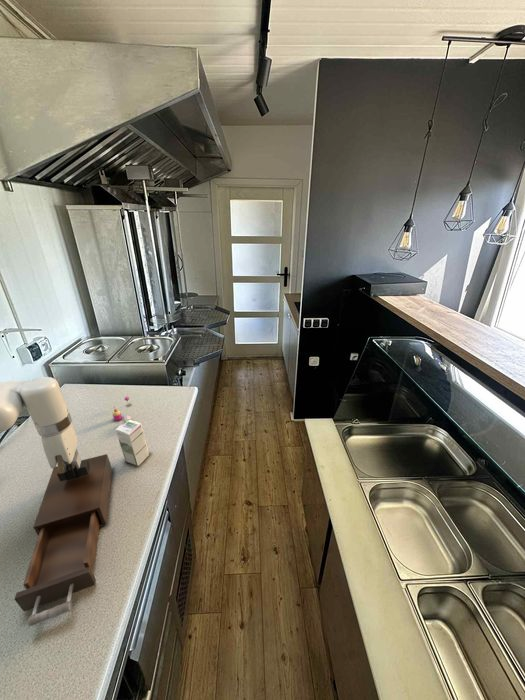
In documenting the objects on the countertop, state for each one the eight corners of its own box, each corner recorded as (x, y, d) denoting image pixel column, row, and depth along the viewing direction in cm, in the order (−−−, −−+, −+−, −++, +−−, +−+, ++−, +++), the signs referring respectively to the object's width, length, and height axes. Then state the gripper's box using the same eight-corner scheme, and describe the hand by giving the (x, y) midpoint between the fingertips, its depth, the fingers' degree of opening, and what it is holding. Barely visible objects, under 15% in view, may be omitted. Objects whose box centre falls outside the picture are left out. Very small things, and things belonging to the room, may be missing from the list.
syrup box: (150, 454, 100) (142, 422, 93) (137, 467, 95) (128, 433, 89) (137, 450, 102) (128, 417, 95) (124, 462, 97) (114, 429, 90)
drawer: (91, 611, 60) (84, 598, 58) (14, 642, 56) (3, 629, 53) (104, 512, 80) (99, 499, 77) (48, 529, 76) (41, 516, 73)
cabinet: (106, 524, 78) (99, 507, 74) (42, 544, 73) (32, 527, 70) (112, 469, 94) (107, 453, 91) (61, 483, 89) (53, 467, 86)
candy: (141, 425, 113) (138, 413, 111) (119, 434, 109) (115, 421, 106) (130, 403, 126) (127, 392, 124) (110, 410, 122) (107, 398, 120)
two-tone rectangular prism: (60, 481, 80) (53, 466, 77) (62, 473, 82) (56, 458, 80) (88, 474, 82) (82, 459, 79) (90, 466, 85) (84, 451, 82)
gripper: (46, 407, 80) (66, 456, 88) (26, 448, 66) (52, 501, 74) (76, 401, 82) (93, 449, 90) (63, 440, 68) (84, 492, 76)
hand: (74, 472), depth 82 cm, fingers closed on two-tone rectangular prism, 3 cm apart
